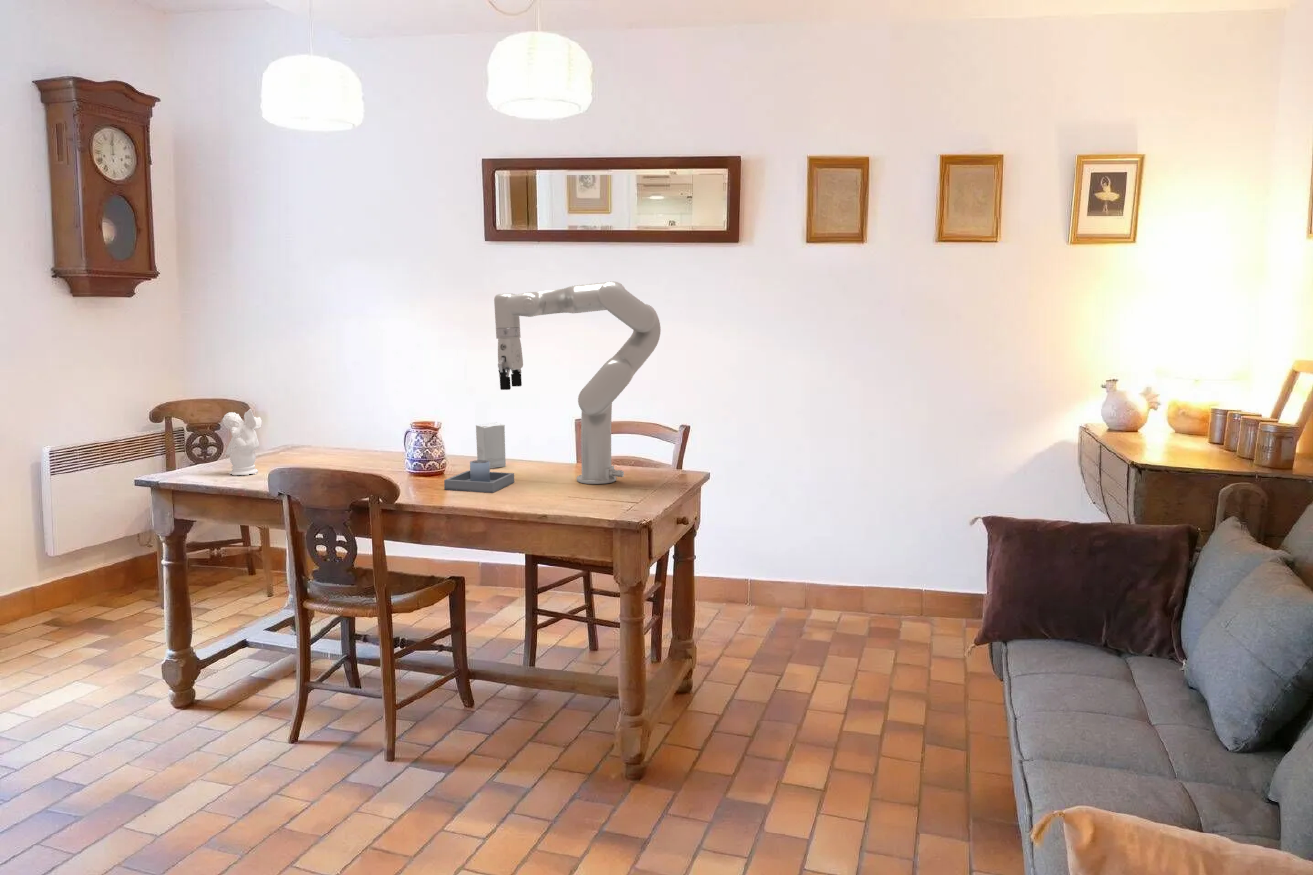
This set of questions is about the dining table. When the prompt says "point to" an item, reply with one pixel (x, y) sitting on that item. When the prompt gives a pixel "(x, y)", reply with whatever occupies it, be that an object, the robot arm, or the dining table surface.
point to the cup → (480, 470)
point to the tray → (464, 483)
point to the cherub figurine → (242, 442)
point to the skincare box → (491, 444)
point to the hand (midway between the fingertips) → (511, 387)
